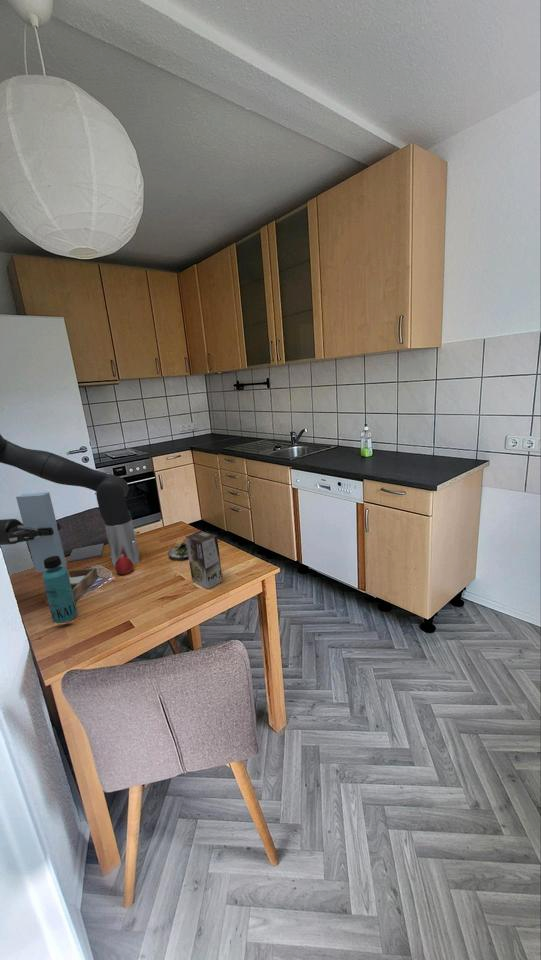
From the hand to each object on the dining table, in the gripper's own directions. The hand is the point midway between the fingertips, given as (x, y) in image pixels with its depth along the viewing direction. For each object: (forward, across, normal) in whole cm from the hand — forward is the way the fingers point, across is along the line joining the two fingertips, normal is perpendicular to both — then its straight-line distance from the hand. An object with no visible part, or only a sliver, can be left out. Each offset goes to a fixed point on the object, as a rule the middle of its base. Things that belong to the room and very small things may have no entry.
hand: (55, 528), depth 113 cm
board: (-4, 0, +13) cm, 14 cm away
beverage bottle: (+4, -10, +25) cm, 27 cm away
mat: (-14, +36, +25) cm, 46 cm away
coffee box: (+41, +8, +25) cm, 49 cm away
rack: (-2, +5, +25) cm, 25 cm away
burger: (+28, +30, +25) cm, 48 cm away
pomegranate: (+11, +15, +25) cm, 31 cm away
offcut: (-3, +8, +23) cm, 25 cm away
